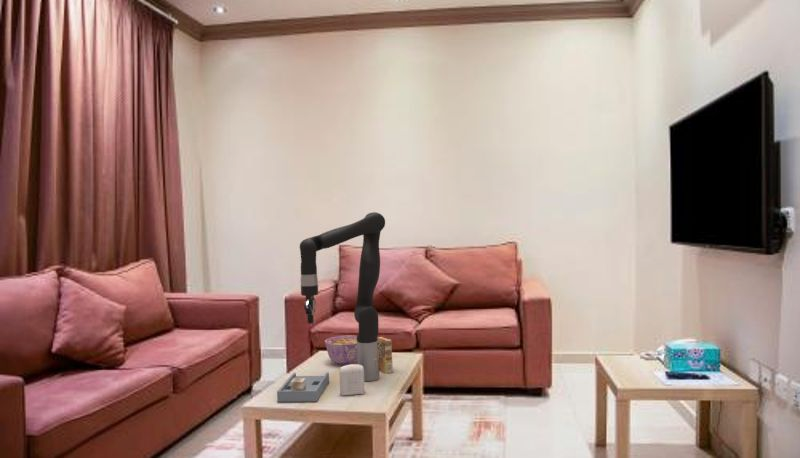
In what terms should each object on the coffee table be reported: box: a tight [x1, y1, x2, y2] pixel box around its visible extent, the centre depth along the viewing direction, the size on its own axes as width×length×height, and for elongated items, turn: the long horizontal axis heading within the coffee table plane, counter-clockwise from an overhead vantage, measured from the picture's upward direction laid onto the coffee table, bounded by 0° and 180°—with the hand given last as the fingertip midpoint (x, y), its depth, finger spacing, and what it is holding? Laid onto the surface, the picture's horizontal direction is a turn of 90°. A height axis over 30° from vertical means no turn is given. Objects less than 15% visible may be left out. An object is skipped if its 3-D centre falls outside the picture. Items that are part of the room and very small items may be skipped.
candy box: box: [377, 336, 394, 374], centre depth 276 cm, size 9×4×15 cm, turn 33°
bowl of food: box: [324, 334, 358, 366], centre depth 292 cm, size 20×20×12 cm
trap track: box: [276, 372, 330, 403], centre depth 249 cm, size 16×26×4 cm, turn 176°
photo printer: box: [339, 363, 365, 397], centre depth 244 cm, size 10×4×12 cm, turn 103°
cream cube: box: [290, 378, 306, 391], centre depth 239 cm, size 5×5×5 cm
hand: (310, 323), depth 259 cm, fingers closed
